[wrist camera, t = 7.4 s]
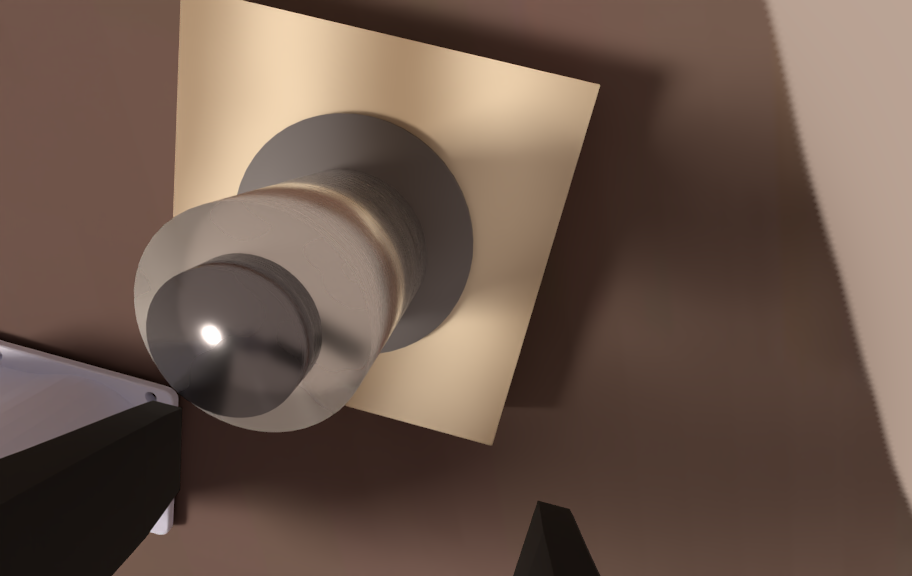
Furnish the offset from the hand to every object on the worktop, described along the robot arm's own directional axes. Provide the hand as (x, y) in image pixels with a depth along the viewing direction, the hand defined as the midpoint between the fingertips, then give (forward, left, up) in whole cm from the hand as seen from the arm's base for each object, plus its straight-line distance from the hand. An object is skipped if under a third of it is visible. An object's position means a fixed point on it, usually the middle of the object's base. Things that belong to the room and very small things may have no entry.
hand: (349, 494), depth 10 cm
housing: (-3, +2, -7) cm, 8 cm away
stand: (-3, +3, -10) cm, 11 cm away
